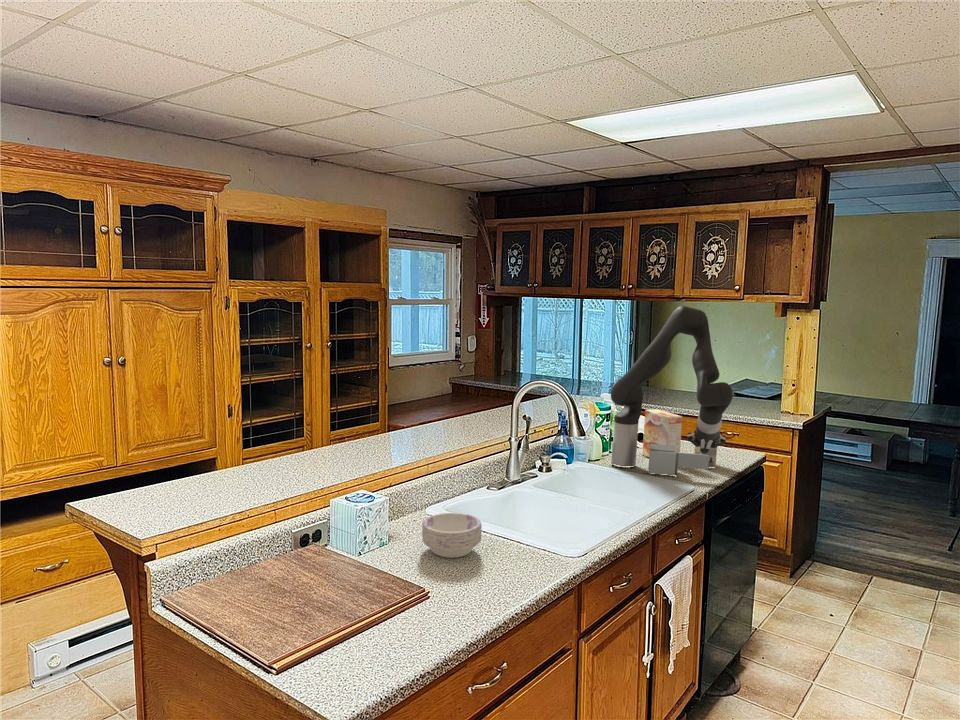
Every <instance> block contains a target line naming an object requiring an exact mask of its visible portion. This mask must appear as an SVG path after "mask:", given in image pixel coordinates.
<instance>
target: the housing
mask: <svg viewBox="0 0 960 720" xmlns="http://www.w3.org/2000/svg"><path fill="white" fill-rule="evenodd" d="M650 450H651V451H661V452H672V453H675V447H674V446H668V445H657V444H650ZM649 465H650V454H649V458H648V466H649Z"/></svg>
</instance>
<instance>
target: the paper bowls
mask: <svg viewBox="0 0 960 720" xmlns="http://www.w3.org/2000/svg"><path fill="white" fill-rule="evenodd" d="M421 524H422V532H421V533H422V534H421V536H422V542H423V544H424V545H426V547H429V548H430V550H431V552H432V554H433V553H434V554H435V555H437V556H439V557H442V558H447V559H452V558H453V559H455V558H461V557H465V556H467V555H469V554H471V552H472V550H473V549H474V547H476V546H478V545H479V544H480V543H481V540H482V526H483V525H482V522H481V519H479V518H478V517H476V516H474V515H471V514H468V513H461V512H445V513H444V512H443V513H442V512H441V513H439V514H433V515H429V516H427V517H426V518H425V519H424V520H423V521H422V523H421Z"/></svg>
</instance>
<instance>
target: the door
mask: <svg viewBox="0 0 960 720" xmlns="http://www.w3.org/2000/svg"><path fill="white" fill-rule="evenodd" d="M708 460H709V455H702V454H694V453H693V452H692V453H691V452H690V453H689V452H681V451H680V452H676V453H672V452H661V451H651V450H650V465H649V464H648V470H649V473H655V474H668V475H676V476H677V477H678V468H687V469H697V470H698V469H699V470H708V469H709V468H708Z"/></svg>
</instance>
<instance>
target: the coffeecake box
mask: <svg viewBox="0 0 960 720" xmlns="http://www.w3.org/2000/svg"><path fill="white" fill-rule="evenodd" d="M643 426H644V427H643V439H642V440H643V441H642V454H643V455H645V456H648V457H649V454H650V444H657V445H668V446H674V447H675V453H676V452H681V443H682V442H681V439H682V428H683V416H682V415H678V414H675V413H672V412H668V411H665V410H662V409H658V408H655V409H645V411H644V425H643Z"/></svg>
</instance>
